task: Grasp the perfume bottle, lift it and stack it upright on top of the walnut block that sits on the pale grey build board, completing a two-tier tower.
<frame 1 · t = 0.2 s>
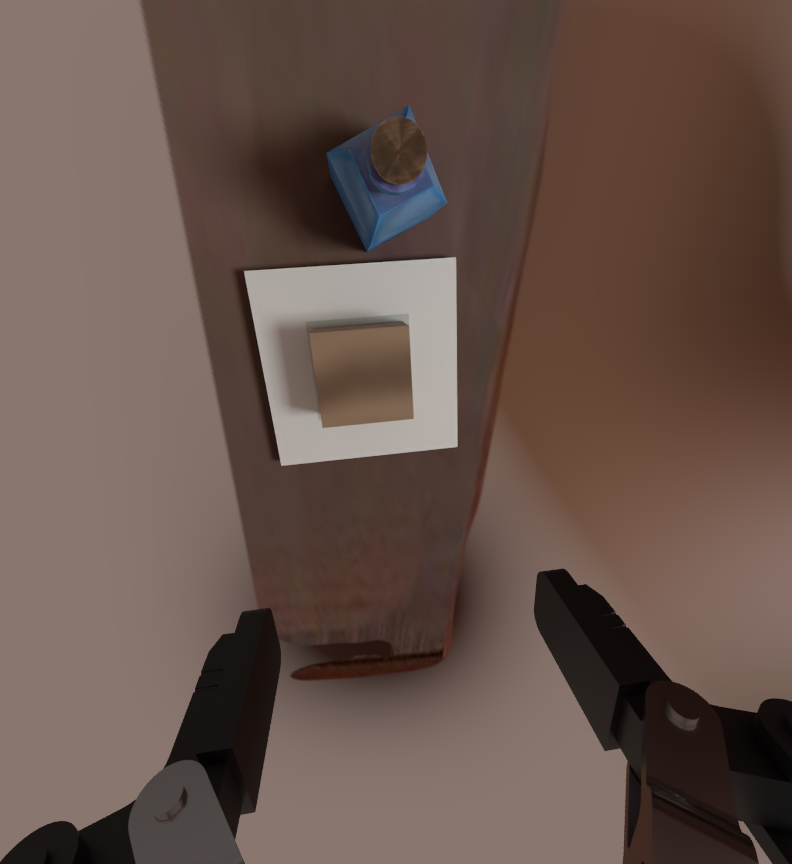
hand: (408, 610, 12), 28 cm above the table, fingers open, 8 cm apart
walnut block: (362, 368, 36), point 1 cm above the table, touching build board
build board: (362, 366, 37), on the table
perfume bottle: (381, 198, 32), on the table
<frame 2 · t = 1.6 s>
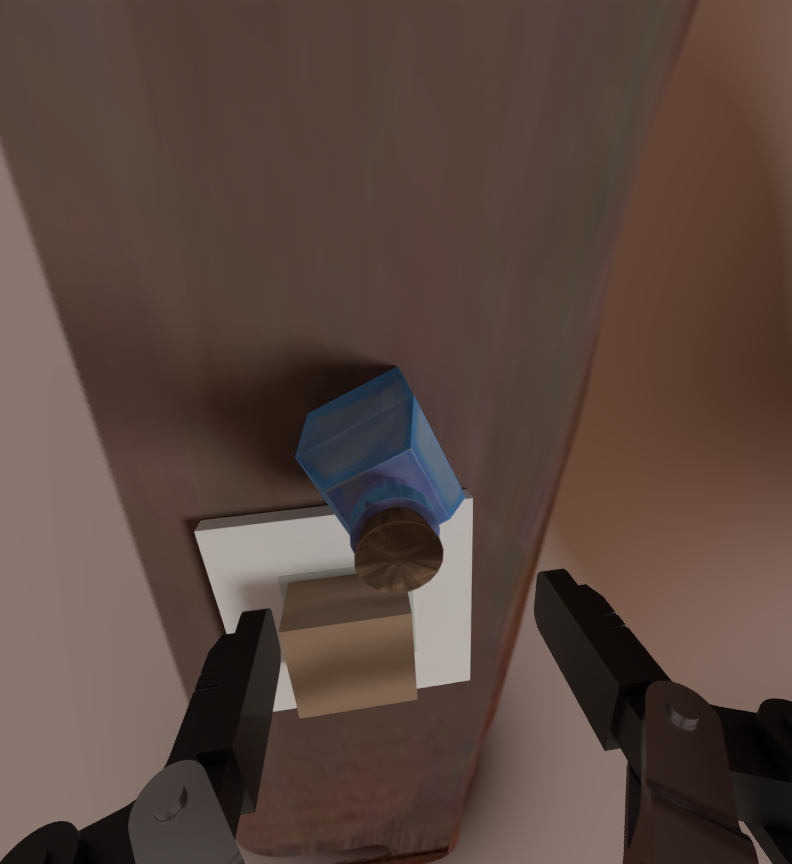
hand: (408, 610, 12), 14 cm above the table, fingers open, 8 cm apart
walnut block: (352, 617, 28), point 1 cm above the table, touching build board
build board: (352, 604, 29), on the table
perfume bottle: (375, 430, 25), on the table
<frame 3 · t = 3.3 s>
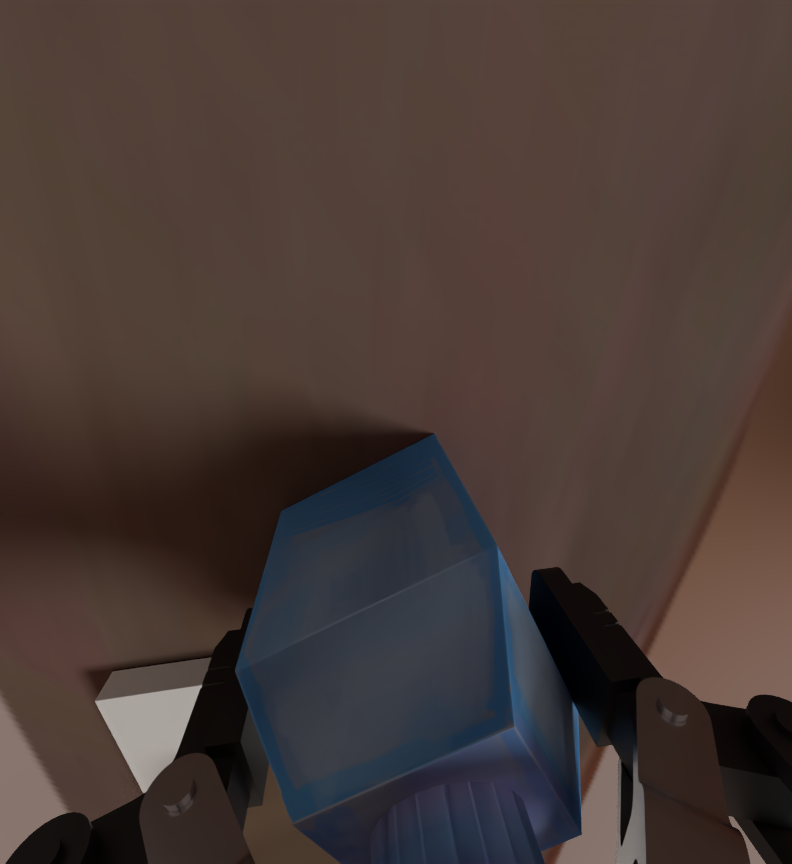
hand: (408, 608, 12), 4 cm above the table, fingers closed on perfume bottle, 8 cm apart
walnut block: (355, 796, 19), point 1 cm above the table, touching build board
build board: (354, 766, 20), on the table
perfume bottle: (394, 531, 15), on the table, touching gripper
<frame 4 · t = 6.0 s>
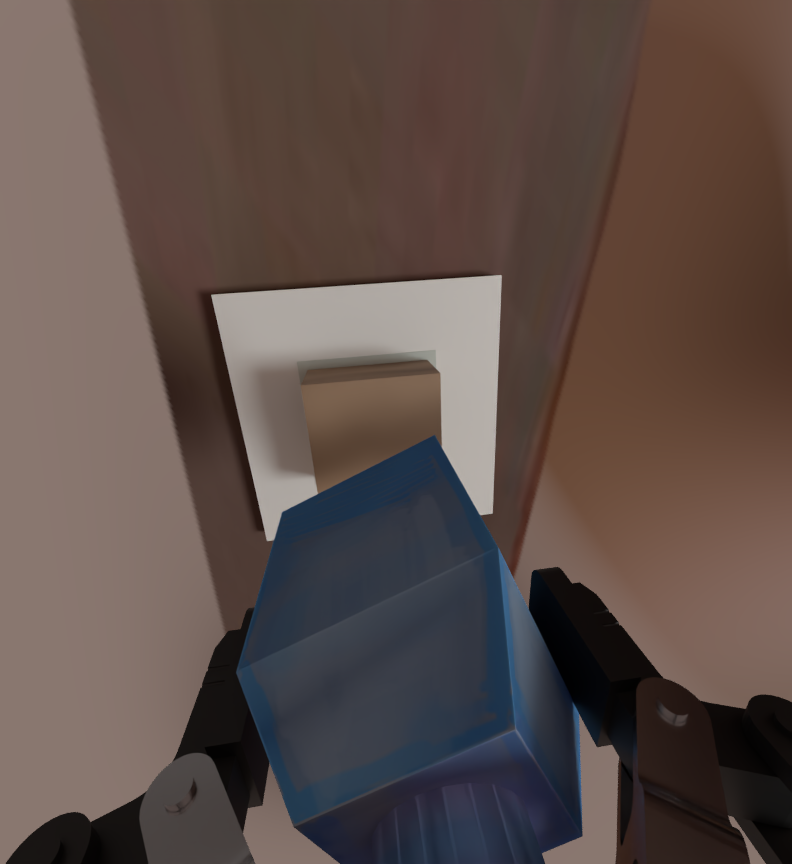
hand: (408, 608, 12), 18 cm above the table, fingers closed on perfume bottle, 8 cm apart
walnut block: (373, 421, 27), point 1 cm above the table, touching build board
build board: (372, 415, 28), on the table
perfume bottle: (395, 532, 15), point 14 cm above the table, touching gripper
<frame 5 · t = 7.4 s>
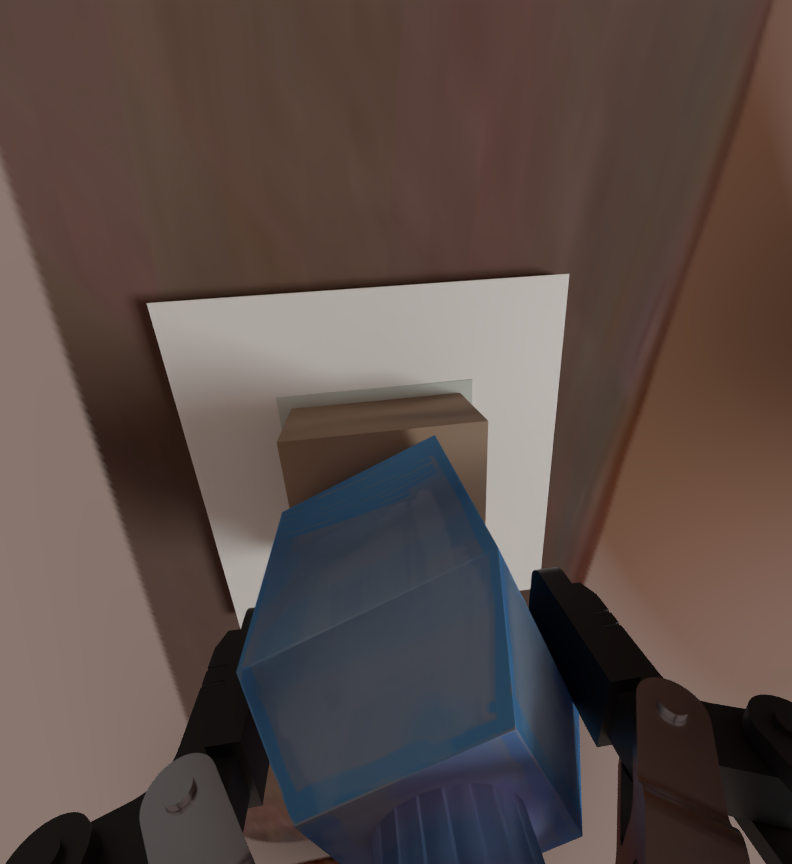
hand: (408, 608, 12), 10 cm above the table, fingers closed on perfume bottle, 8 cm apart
walnut block: (383, 475, 20), point 1 cm above the table, touching build board
build board: (381, 464, 21), on the table
perfume bottle: (395, 532, 15), point 6 cm above the table, touching gripper
when the fingers open (9 cm above the table, at t = 8.6 s): perfume bottle stays where it is, resting on walnut block.
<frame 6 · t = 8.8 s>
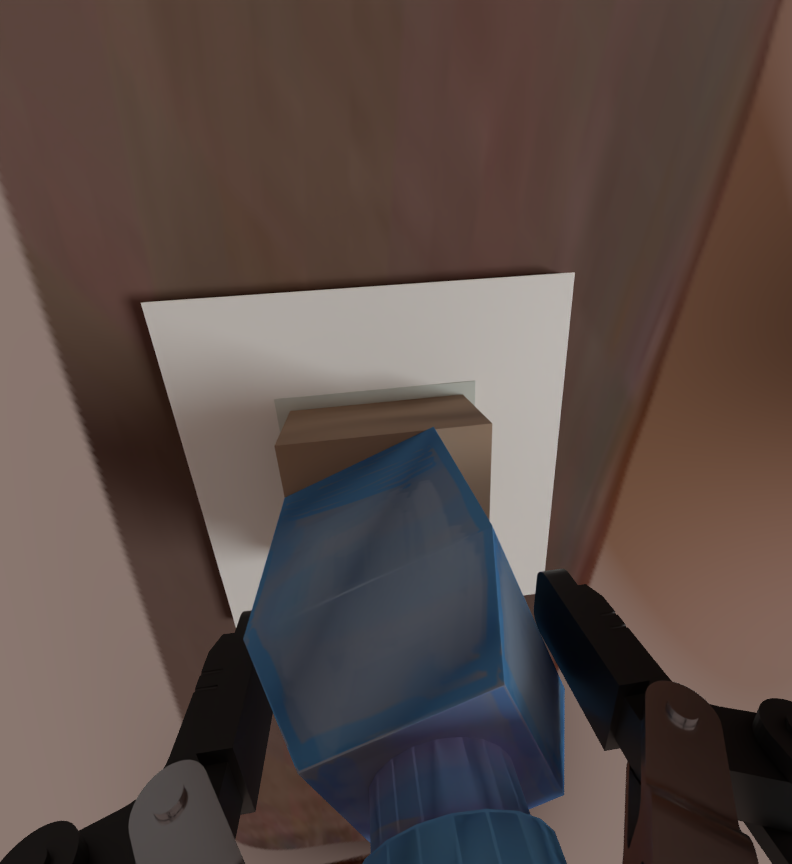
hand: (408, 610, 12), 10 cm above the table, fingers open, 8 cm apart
walnut block: (384, 479, 19), point 1 cm above the table, touching build board, perfume bottle
build board: (382, 467, 20), on the table
perfume bottle: (392, 520, 16), point 5 cm above the table, touching walnut block
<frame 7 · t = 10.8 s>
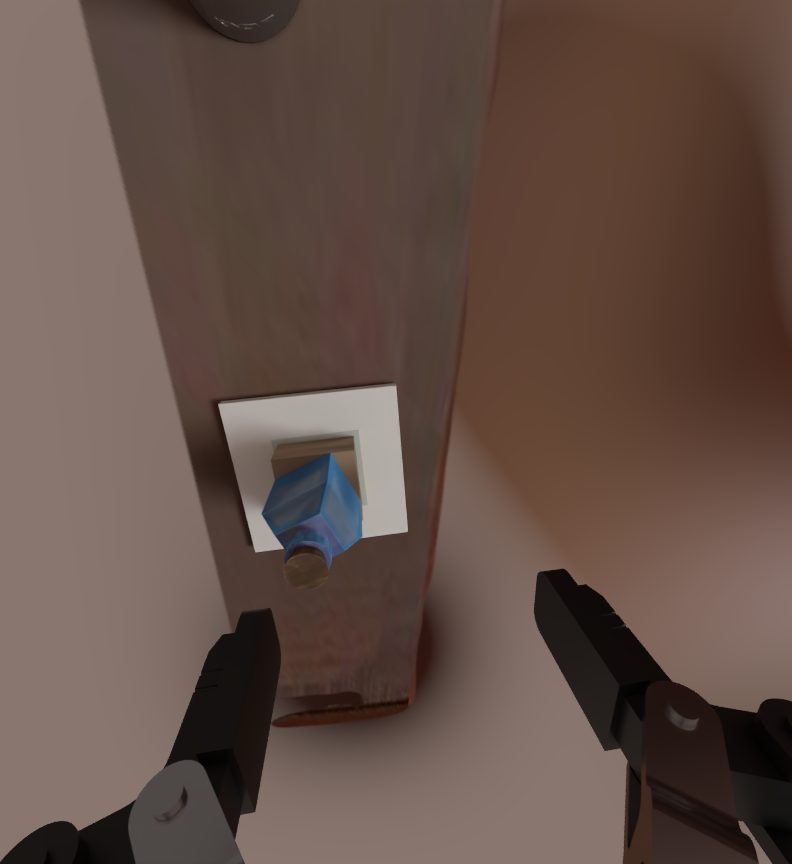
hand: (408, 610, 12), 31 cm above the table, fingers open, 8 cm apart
walnut block: (321, 474, 42), point 1 cm above the table, touching build board, perfume bottle
build board: (322, 469, 43), on the table
perfume bottle: (319, 489, 39), point 5 cm above the table, touching walnut block
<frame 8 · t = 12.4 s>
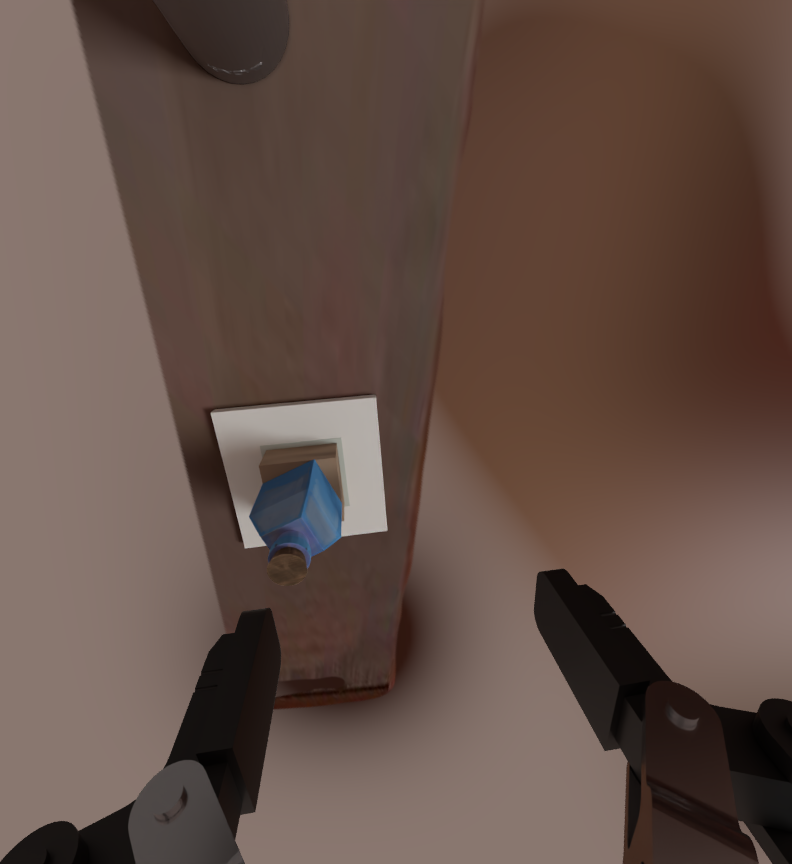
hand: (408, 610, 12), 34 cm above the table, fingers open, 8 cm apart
walnut block: (306, 477, 46), point 1 cm above the table, touching build board, perfume bottle
build board: (307, 472, 47), on the table
perfume bottle: (303, 492, 42), point 5 cm above the table, touching walnut block
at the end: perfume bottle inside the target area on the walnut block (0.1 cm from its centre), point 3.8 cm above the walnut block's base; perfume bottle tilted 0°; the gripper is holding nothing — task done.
